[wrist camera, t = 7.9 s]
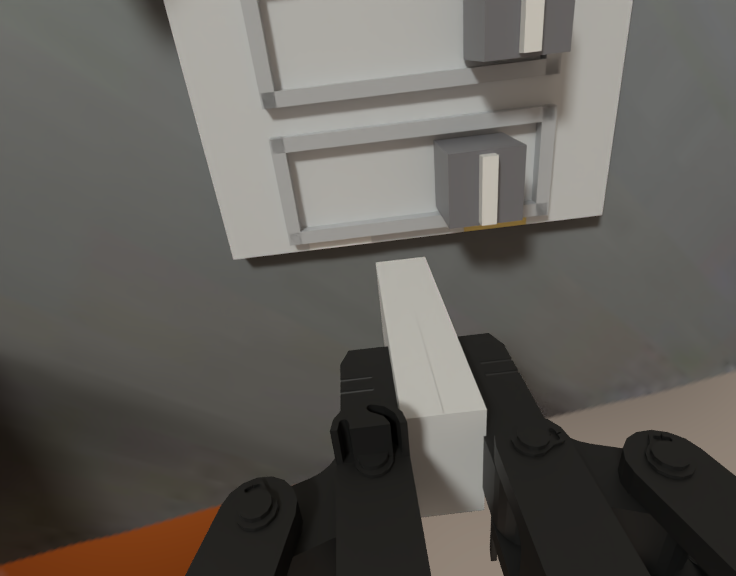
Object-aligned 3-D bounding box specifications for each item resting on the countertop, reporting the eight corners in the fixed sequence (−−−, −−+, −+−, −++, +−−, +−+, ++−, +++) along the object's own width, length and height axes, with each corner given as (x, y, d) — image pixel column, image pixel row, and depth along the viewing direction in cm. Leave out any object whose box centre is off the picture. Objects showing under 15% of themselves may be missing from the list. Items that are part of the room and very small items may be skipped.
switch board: (238, 250, 31) (231, 264, 29) (162, -37, 23) (145, -45, 21) (590, 207, 31) (608, 219, 29) (630, -94, 23) (657, -107, 21)
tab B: (463, 59, 24) (488, 62, 20) (463, -30, 23) (490, -47, 19) (537, 50, 24) (576, 51, 20) (542, -40, 23) (587, -59, 19)
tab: (435, 206, 28) (451, 233, 24) (433, 140, 26) (450, 157, 22) (499, 198, 28) (526, 224, 24) (501, 131, 26) (531, 147, 22)
